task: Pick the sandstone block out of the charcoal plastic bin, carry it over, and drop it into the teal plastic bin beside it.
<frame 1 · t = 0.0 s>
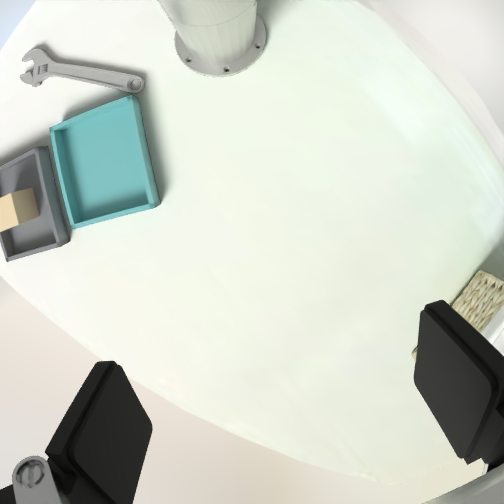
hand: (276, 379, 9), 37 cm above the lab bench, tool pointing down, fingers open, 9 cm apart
storage basket: (459, 325, 52), on the lab bench
adjustable wrench: (75, 77, 38), on the lab bench
charcoal bin: (28, 204, 43), on the lab bench
sandstone block: (26, 205, 42), point 1 cm above the lab bench, touching charcoal bin
teal bin: (105, 163, 42), on the lab bench
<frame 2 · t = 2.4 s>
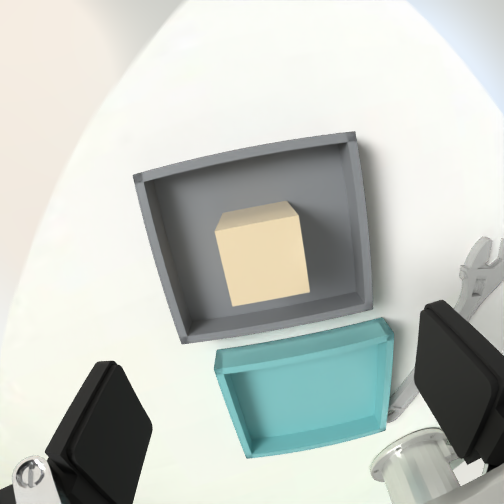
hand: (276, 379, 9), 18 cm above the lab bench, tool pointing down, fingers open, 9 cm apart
adjustable wrench: (438, 330, 30), on the lab bench
charcoal bin: (260, 235, 26), on the lab bench
sandstone block: (260, 237, 25), point 1 cm above the lab bench, touching charcoal bin
teal bin: (308, 389, 30), on the lab bench
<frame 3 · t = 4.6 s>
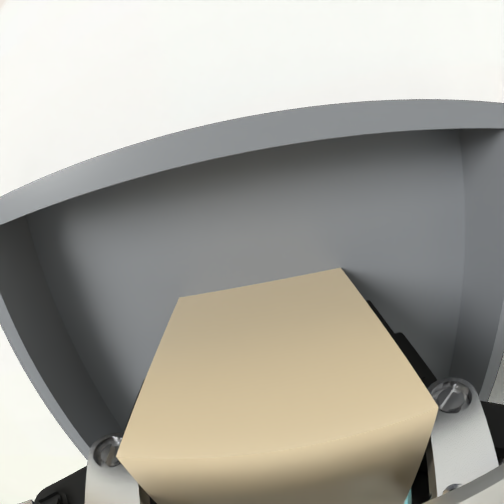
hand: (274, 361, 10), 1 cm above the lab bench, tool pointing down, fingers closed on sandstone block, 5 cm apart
charcoal bin: (271, 340, 11), on the lab bench
sandstone block: (272, 350, 10), point 1 cm above the lab bench, touching charcoal bin, gripper
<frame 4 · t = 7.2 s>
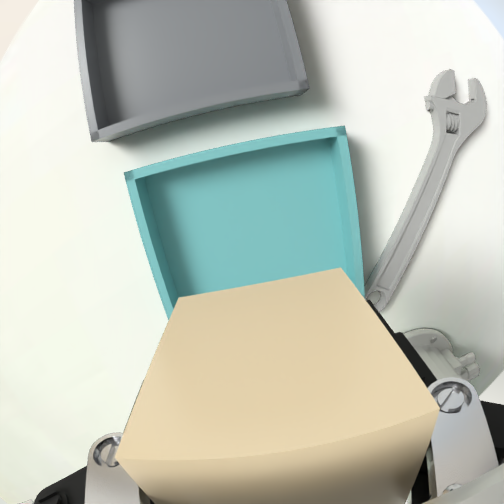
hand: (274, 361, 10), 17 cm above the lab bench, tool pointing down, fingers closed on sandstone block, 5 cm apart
adjustable wrench: (417, 180, 25), on the lab bench
charcoal bin: (184, 36, 20), on the lab bench
sandstone block: (272, 350, 10), point 16 cm above the lab bench, touching gripper
teal bin: (251, 230, 26), on the lab bench
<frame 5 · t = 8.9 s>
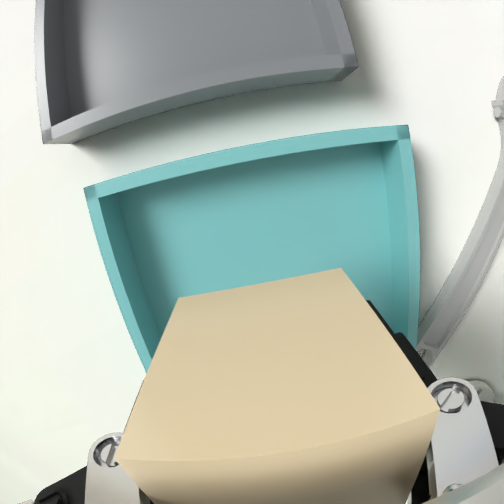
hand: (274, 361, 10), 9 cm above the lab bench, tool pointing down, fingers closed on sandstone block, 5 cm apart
adjustable wrench: (480, 208, 18), on the lab bench
charcoal bin: (177, 0, 13), on the lab bench
sandstone block: (272, 351, 10), point 8 cm above the lab bench, touching gripper
teal bin: (268, 270, 18), on the lab bench
when the fingers open (4 cm above the lab bench, at t = 10.3 s): sandstone block drops 3 cm, resting on teal bin.
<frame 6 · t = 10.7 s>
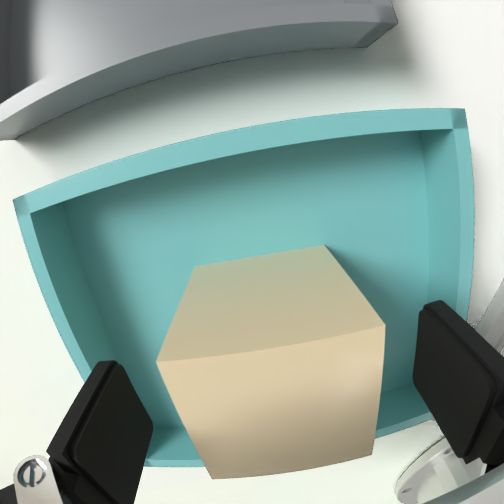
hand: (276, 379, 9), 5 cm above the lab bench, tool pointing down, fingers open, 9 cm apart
sandstone block: (269, 313, 13), point 1 cm above the lab bench, touching teal bin
teal bin: (267, 305, 13), on the lab bench
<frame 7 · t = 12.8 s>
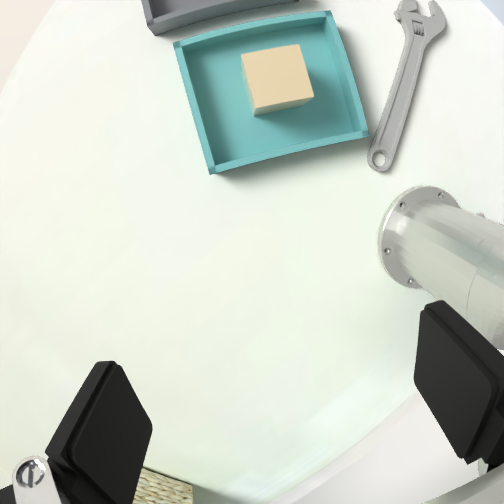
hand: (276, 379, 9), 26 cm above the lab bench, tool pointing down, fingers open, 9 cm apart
storage basket: (135, 476, 49), on the lab bench
adjustable wrench: (398, 69, 29), on the lab bench
sandstone block: (271, 88, 29), point 1 cm above the lab bench, touching teal bin
teal bin: (270, 89, 29), on the lab bench
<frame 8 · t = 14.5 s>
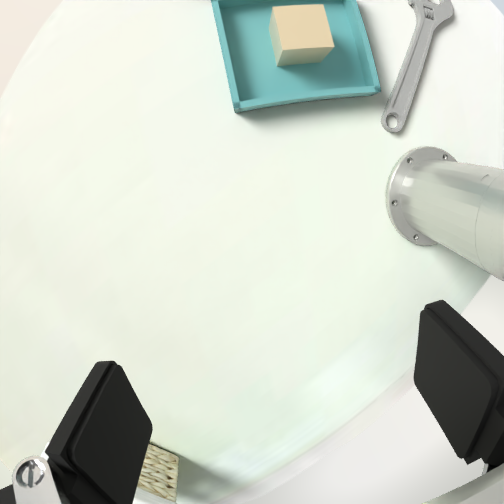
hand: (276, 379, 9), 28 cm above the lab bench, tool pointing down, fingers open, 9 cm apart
storage basket: (119, 444, 49), on the lab bench
adjustable wrench: (410, 47, 30), on the lab bench
sandstone block: (294, 44, 29), point 1 cm above the lab bench, touching teal bin
teal bin: (293, 45, 30), on the lab bench
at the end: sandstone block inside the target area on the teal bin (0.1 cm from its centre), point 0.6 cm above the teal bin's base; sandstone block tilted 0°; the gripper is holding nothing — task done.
